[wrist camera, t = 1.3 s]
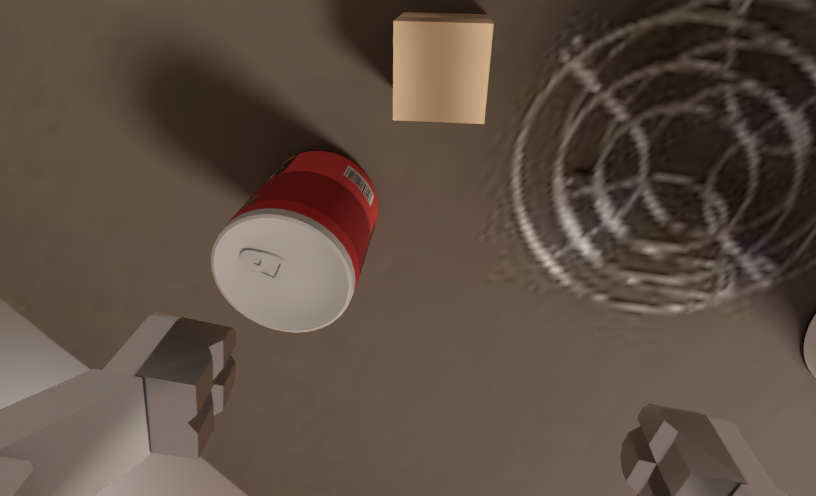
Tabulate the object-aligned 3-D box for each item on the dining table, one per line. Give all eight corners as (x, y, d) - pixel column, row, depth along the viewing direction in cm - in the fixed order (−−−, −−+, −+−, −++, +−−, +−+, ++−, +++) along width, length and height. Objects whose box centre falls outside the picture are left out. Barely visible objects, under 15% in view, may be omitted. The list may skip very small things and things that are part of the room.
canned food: (278, 135, 35) (209, 198, 25) (389, 161, 35) (364, 234, 25) (269, 230, 38) (207, 316, 29) (370, 253, 39) (342, 346, 29)
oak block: (487, 14, 30) (493, 23, 25) (479, 99, 32) (484, 124, 27) (404, 11, 30) (393, 20, 25) (403, 96, 33) (392, 120, 28)
